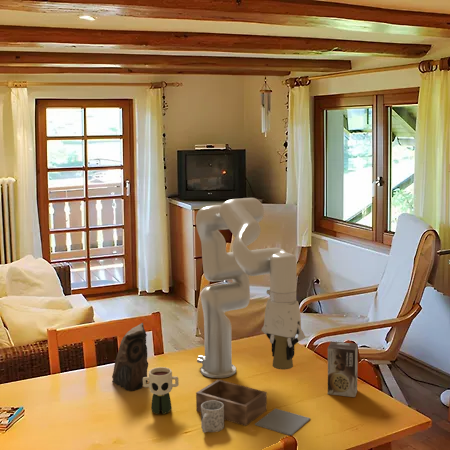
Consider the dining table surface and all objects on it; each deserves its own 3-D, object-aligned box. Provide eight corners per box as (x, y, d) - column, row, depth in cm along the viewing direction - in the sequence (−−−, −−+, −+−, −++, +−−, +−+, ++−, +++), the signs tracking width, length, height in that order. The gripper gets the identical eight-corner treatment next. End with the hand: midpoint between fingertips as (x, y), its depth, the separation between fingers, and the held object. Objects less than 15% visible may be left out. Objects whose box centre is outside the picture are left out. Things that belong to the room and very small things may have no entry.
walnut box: (196, 410, 197) (196, 392, 196) (218, 396, 207) (218, 379, 206) (245, 425, 187) (245, 406, 186) (266, 410, 197) (266, 392, 196)
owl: (146, 374, 226) (144, 319, 223) (158, 387, 215) (156, 330, 212) (111, 381, 221) (108, 325, 217) (122, 394, 210) (119, 336, 206)
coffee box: (357, 389, 211) (358, 343, 208) (355, 398, 205) (356, 350, 202) (330, 386, 214) (330, 340, 211) (326, 394, 208) (327, 347, 205)
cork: (292, 370, 183) (292, 333, 181) (271, 368, 184) (271, 332, 182) (294, 362, 189) (294, 326, 187) (273, 361, 190) (273, 325, 188)
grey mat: (255, 425, 188) (255, 423, 188) (275, 409, 198) (275, 408, 197) (291, 435, 181) (291, 434, 181) (310, 419, 191) (310, 418, 191)
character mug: (142, 416, 194) (141, 376, 192) (145, 406, 201) (143, 367, 199) (178, 416, 194) (177, 375, 192) (179, 405, 201) (178, 366, 199)
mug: (207, 419, 191) (206, 399, 190) (227, 423, 189) (227, 402, 188) (192, 435, 182) (192, 413, 181) (214, 439, 180) (213, 417, 179)
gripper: (251, 294, 185) (251, 355, 188) (303, 303, 175) (302, 367, 178) (264, 289, 191) (264, 347, 194) (315, 297, 181) (314, 358, 184)
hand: (282, 356), depth 186 cm, fingers closed on cork, 4 cm apart
